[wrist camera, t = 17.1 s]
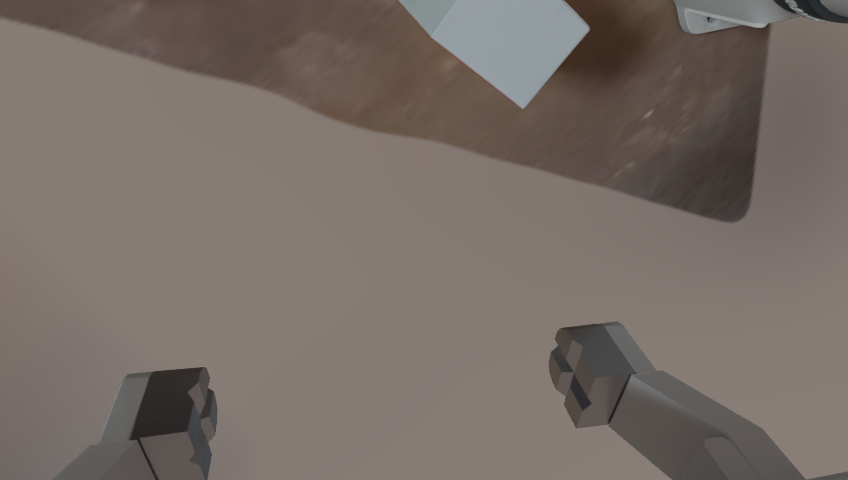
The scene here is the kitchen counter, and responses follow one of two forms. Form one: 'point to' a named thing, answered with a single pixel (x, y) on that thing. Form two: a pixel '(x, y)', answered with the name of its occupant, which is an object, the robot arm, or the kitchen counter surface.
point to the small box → (503, 39)
